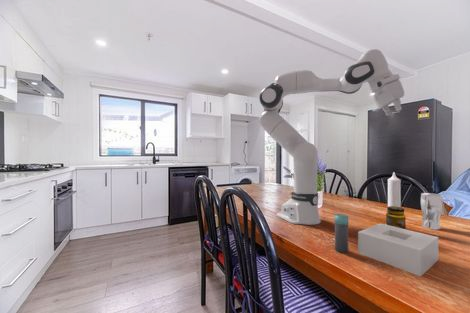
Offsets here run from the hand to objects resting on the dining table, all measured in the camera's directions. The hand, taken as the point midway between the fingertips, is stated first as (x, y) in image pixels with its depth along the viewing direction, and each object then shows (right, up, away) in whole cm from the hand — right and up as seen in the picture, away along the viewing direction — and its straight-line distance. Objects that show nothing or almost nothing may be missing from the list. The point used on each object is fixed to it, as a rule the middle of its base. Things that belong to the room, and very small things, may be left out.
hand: (394, 112), depth 90 cm
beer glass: (+18, -51, +1) cm, 54 cm away
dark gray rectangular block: (-34, -52, -20) cm, 65 cm away
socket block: (-18, -52, -25) cm, 60 cm away
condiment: (-8, -52, -9) cm, 53 cm away
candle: (+1, -52, +1) cm, 52 cm away
